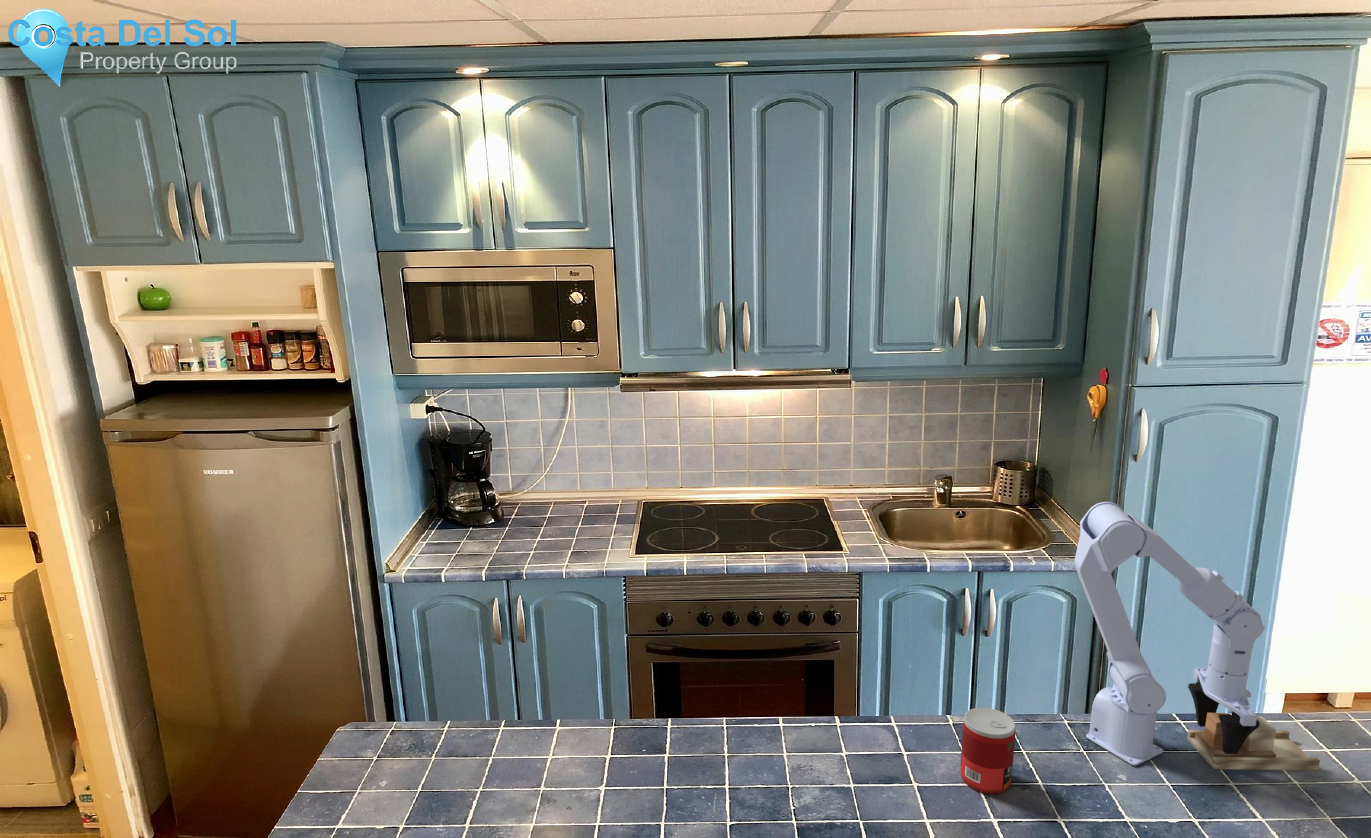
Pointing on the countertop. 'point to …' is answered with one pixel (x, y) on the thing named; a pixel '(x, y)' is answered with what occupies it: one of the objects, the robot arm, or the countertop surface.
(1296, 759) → the rail bed
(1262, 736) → the cube
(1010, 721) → the canned food
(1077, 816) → the countertop surface
